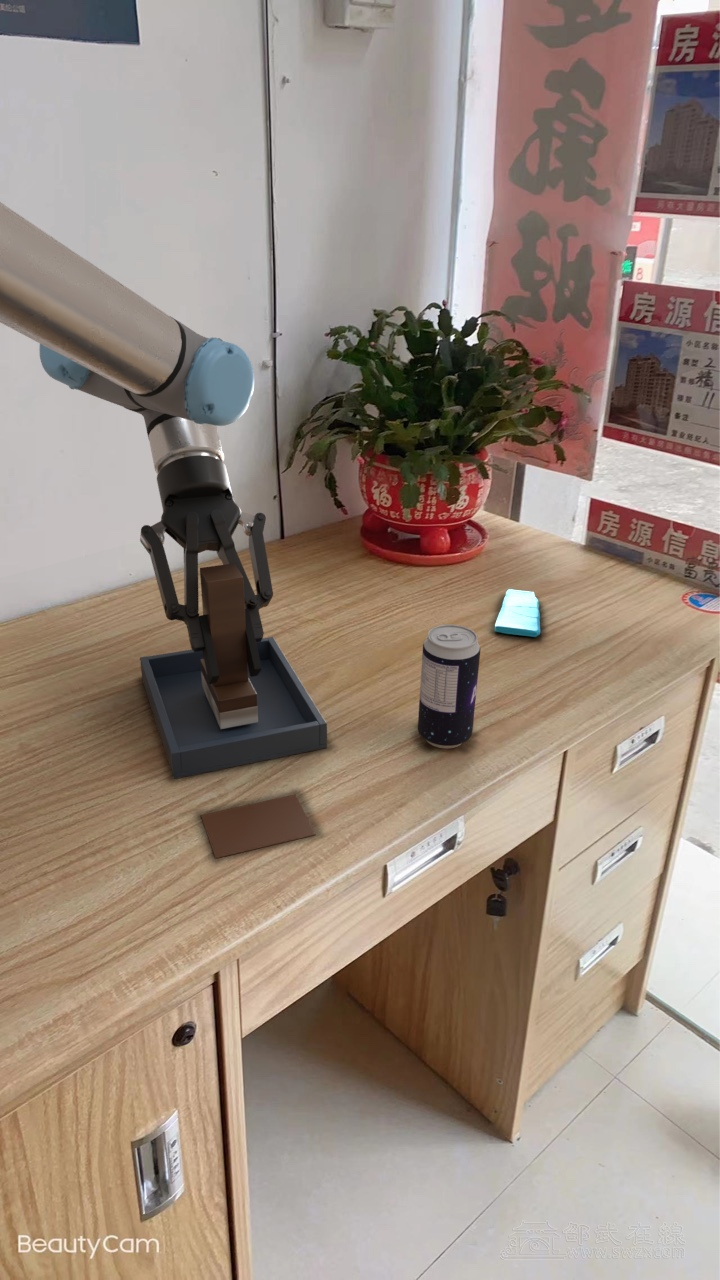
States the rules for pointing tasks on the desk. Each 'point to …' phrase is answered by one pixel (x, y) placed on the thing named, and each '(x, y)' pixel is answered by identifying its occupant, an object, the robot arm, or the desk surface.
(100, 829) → the desk surface
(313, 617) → the desk surface
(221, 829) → the stain
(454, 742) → the beverage can
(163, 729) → the tray
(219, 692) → the brush
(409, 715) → the desk surface
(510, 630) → the sponge
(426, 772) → the desk surface
